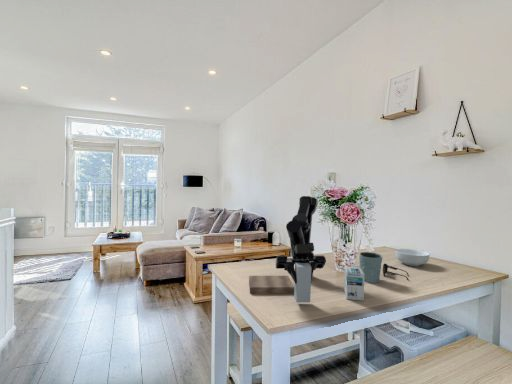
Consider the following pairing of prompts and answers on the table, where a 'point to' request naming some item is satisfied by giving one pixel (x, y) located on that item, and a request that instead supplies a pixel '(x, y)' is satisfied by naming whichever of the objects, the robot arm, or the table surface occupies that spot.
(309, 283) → the slate block
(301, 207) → the robot arm
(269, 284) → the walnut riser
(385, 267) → the sunglasses
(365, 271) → the grey green cup
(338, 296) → the table surface
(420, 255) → the cereal bowl
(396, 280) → the table surface
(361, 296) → the light bulb box
